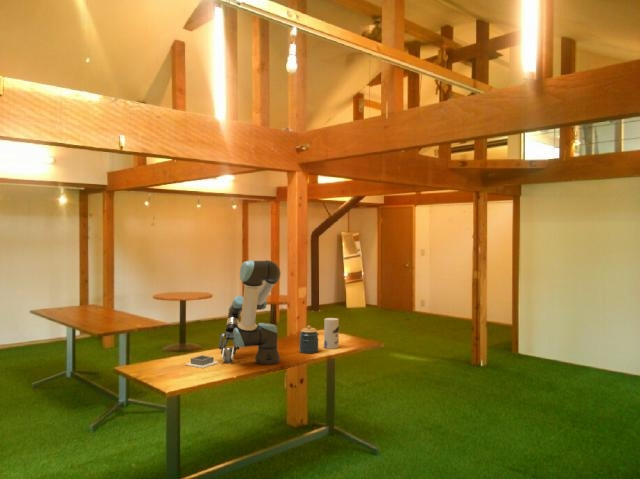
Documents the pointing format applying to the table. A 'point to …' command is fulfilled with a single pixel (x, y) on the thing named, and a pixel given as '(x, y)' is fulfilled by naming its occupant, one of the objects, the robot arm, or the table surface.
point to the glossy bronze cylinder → (228, 355)
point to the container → (331, 333)
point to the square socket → (202, 362)
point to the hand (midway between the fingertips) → (227, 358)
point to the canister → (308, 340)
